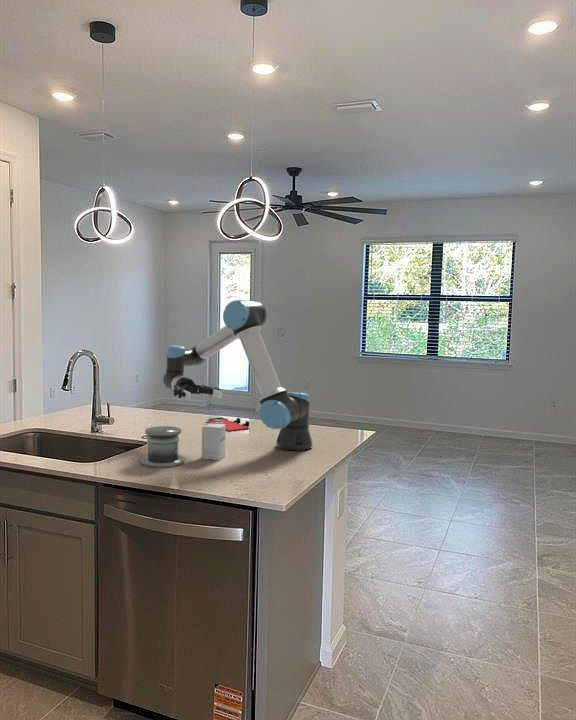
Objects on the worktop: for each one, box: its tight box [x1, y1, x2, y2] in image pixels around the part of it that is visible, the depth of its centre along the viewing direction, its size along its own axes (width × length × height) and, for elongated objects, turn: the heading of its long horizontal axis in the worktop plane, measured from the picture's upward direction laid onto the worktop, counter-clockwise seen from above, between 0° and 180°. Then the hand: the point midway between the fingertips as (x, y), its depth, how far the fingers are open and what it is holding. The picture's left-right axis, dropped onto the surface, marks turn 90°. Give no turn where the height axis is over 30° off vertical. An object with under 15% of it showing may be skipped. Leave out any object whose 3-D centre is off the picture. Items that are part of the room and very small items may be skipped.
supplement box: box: [201, 423, 227, 461], centre depth 224 cm, size 7×7×13 cm
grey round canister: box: [140, 425, 186, 468], centre depth 216 cm, size 16×16×12 cm
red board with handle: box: [205, 416, 250, 433], centre depth 288 cm, size 30×3×15 cm
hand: (206, 396), depth 230 cm, fingers open, 13 cm apart
